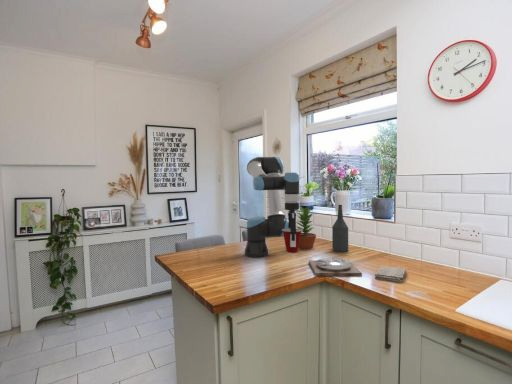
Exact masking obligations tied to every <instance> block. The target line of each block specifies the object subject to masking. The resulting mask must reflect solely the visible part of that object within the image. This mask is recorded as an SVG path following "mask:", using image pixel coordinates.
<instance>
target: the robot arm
mask: <svg viewBox="0 0 512 384" xmlns="http://www.w3.org/2000/svg"><path fill="white" fill-rule="evenodd" d="M283 163H284V162H283V160H282V158H280V157H279V156H278V157H277V156H257V157H254V158H251V159H250V160H249V161H248V163H247V164H246V171H247V173H248V174H249V175H250V176H251V177H252V186H253V190H254V191H260V192H261V191H267V199H268V213H269V214H268V215H267V218H266V217H265V216H256V217H251V218H248V219H247V221H246V245H245V249H244V256H245V257H249V258H250V257H251V258H264V257H268V256H269V248H268V246H267V241H266V239H267V238H282V237H283V238H284V235H283V231H282V229H289V228H290V229H291V233H289V234H290V247H296V229H297V227H296V226H297V212H296V211H298V210H300V207H299V206H300V203H299V202H300V198H301V195H300V175H299V172H285V173H284V164H283ZM283 173H284V175H282V174H283ZM281 191H284V210H285V211H287V217H286V214H285V213H284V212H283V211H284V210H283V203H282V202H283V201H282V193H281Z"/></svg>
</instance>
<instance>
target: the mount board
mask: <svg viewBox="0 0 512 384" xmlns="http://www.w3.org/2000/svg"><path fill="white" fill-rule="evenodd" d="M308 264H309V266H310V268H311V270H312V272H313V273H314V276H315V277H362V276H363V273H362V272H361V270H359V268H357V267H356V266H355V265H354V264H353V263H352V262H351V261H350V260H346V259H342V258H336V257H326V258H324V257H323V258H320V259H317V260H308Z"/></svg>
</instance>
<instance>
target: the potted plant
mask: <svg viewBox="0 0 512 384" xmlns="http://www.w3.org/2000/svg"><path fill="white" fill-rule="evenodd" d="M311 206H312V204H310V205H308V206H306V207H305V208H304V207H303V206H300V205H299V210H300V211H301V213H300V212H298V211H296V214H297V217H298V218H299V220H298V219H297V221H298V222H296V229H302V232H301V236H300V242H299V247H298V249H301V250H312V249H314V245H315V241H316V238H317V234H316V233H312V232H310V231H312V230H313V229H314V228H315V226H313V227H312V225H311V224H310V223H312V222H313V220H310V219H311V217H313V213H310V212H311V211H312V210H311V209H312V208H311ZM297 225H299V226H297Z"/></svg>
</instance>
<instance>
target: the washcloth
mask: <svg viewBox="0 0 512 384" xmlns="http://www.w3.org/2000/svg"><path fill="white" fill-rule="evenodd" d="M406 272H407V271H406V268H404V267H391V266H385V265H381V266H380V267H379V268H378V269H377V271H376V272H375V273H374V279H376V280H381V281H387V282H394V283H402V282H403V280H404V278H405V276H406Z"/></svg>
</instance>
